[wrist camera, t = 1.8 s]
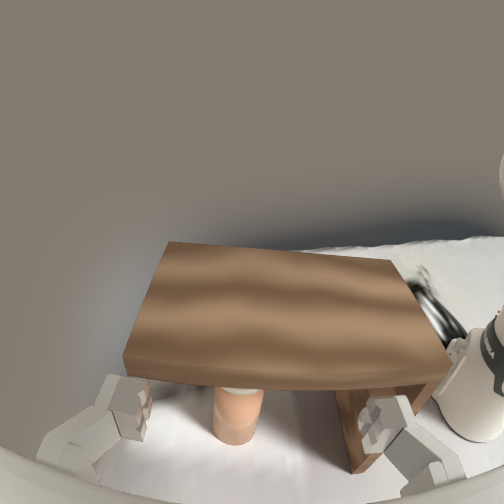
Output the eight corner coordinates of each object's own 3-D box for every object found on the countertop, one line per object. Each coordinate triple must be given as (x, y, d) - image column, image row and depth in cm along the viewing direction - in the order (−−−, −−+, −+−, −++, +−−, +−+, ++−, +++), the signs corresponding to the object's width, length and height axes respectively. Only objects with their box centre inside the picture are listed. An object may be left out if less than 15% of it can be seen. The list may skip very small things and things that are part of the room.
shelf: (363, 472, 29) (453, 364, 20) (159, 471, 28) (122, 355, 18) (341, 380, 42) (390, 260, 33) (176, 372, 41) (168, 241, 31)
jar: (229, 403, 38) (236, 339, 32) (264, 424, 35) (280, 363, 29) (203, 429, 34) (202, 368, 28) (239, 453, 31) (249, 398, 26)
